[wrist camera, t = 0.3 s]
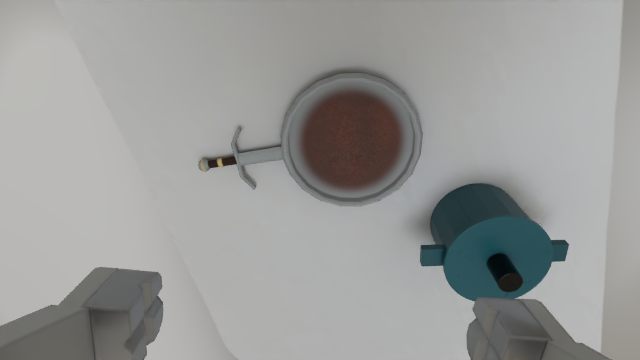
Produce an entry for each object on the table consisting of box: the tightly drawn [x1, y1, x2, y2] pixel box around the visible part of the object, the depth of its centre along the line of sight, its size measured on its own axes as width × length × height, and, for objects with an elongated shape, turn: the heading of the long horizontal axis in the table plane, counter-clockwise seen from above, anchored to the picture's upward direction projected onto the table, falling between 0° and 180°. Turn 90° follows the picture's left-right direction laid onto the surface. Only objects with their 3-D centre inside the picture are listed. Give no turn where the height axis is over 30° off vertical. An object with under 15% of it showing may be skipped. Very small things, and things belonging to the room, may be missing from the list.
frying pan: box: [198, 73, 423, 206], centre depth 49 cm, size 17×3×28 cm
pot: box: [420, 184, 569, 266], centre depth 50 cm, size 11×17×8 cm
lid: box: [443, 214, 553, 301], centre depth 45 cm, size 12×12×5 cm
